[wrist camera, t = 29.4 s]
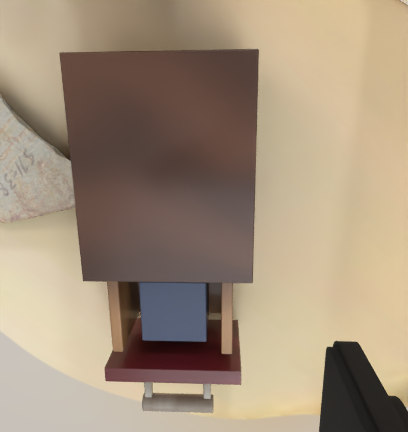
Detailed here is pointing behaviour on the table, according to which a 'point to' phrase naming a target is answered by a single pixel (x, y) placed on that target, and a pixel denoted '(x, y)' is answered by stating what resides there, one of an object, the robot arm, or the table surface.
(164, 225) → the cabinet
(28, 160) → the stone
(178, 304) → the block
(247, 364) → the table surface
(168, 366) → the drawer
